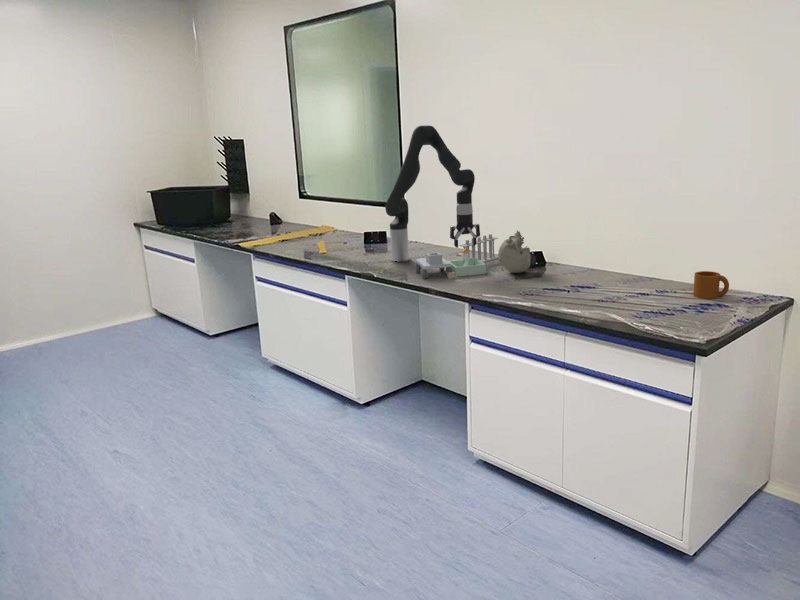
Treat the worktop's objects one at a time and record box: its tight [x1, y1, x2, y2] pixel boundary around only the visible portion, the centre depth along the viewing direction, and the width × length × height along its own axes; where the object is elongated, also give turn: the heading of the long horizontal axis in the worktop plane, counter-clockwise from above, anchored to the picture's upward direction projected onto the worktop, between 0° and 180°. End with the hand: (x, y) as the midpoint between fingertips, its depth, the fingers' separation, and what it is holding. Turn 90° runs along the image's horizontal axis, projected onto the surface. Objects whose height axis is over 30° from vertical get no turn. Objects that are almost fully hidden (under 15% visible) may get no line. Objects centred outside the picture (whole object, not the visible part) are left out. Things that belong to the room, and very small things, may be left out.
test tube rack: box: [458, 233, 499, 264], centre depth 317 cm, size 25×4×13 cm, turn 132°
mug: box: [692, 270, 730, 300], centre depth 239 cm, size 9×12×9 cm
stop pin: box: [462, 248, 469, 266], centre depth 300 cm, size 3×3×10 cm
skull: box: [497, 230, 531, 274], centre depth 291 cm, size 13×15×20 cm
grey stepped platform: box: [414, 251, 456, 280], centre depth 298 cm, size 20×14×10 cm
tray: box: [447, 257, 487, 278], centre depth 301 cm, size 15×15×4 cm
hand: (465, 246), depth 298 cm, fingers open, 8 cm apart
